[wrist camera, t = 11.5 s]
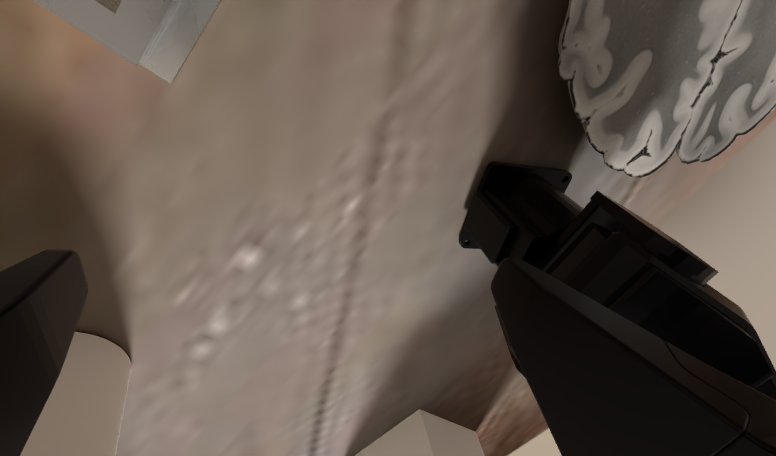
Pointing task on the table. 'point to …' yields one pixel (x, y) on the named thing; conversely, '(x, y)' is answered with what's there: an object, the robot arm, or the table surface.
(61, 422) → the cup
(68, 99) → the table surface
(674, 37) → the brain slice
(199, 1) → the keeper
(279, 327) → the table surface
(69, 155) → the table surface
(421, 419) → the milk
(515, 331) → the robot arm
